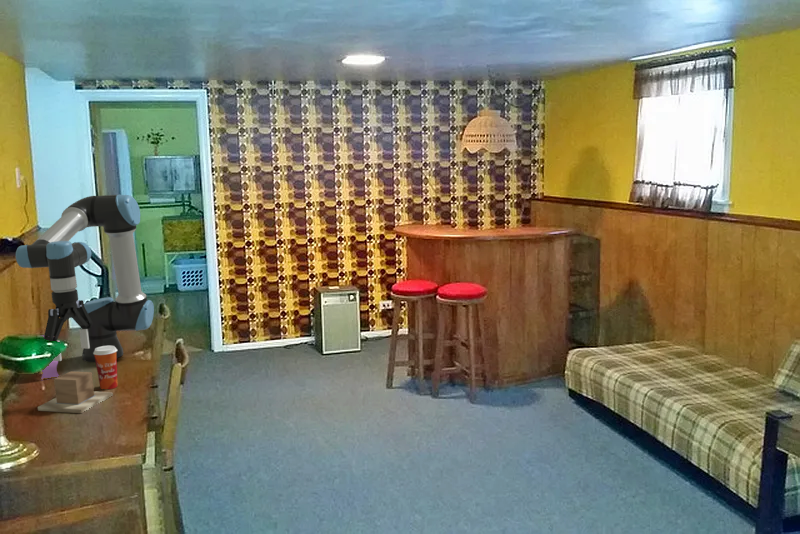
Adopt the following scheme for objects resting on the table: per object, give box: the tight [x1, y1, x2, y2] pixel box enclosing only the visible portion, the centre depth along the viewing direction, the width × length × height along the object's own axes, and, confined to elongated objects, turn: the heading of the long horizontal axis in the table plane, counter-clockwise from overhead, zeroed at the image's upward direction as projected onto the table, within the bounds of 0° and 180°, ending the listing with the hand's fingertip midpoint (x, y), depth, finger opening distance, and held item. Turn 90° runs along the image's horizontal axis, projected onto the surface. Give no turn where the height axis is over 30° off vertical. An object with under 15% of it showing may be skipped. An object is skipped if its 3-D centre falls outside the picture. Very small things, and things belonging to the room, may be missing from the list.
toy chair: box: [40, 334, 60, 380], centre depth 266 cm, size 8×9×15 cm
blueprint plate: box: [37, 391, 114, 414], centre depth 237 cm, size 16×16×1 cm
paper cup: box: [93, 346, 119, 391], centre depth 251 cm, size 8×8×14 cm
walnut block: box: [53, 370, 95, 404], centre depth 237 cm, size 8×8×8 cm
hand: (71, 354), depth 235 cm, fingers open, 13 cm apart
